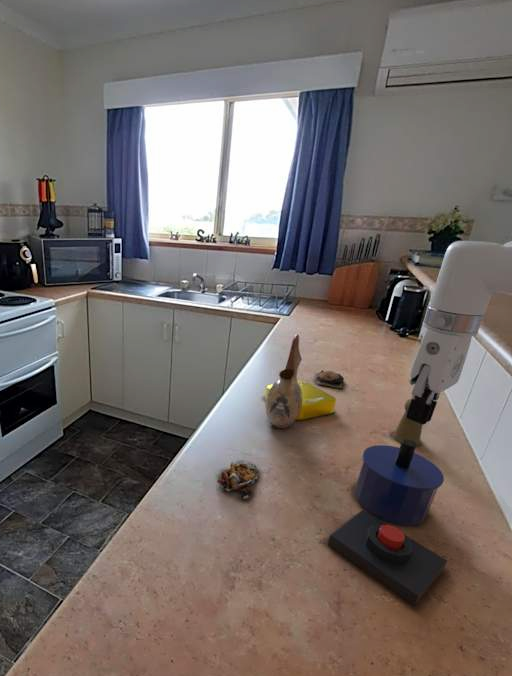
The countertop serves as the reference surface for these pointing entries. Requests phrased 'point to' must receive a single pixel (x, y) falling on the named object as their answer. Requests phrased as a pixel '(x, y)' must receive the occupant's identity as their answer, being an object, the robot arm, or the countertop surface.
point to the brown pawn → (408, 428)
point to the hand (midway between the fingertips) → (417, 419)
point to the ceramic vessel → (286, 392)
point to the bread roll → (330, 379)
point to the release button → (391, 537)
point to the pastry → (239, 477)
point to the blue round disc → (403, 466)
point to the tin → (392, 499)
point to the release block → (388, 557)
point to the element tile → (313, 401)
